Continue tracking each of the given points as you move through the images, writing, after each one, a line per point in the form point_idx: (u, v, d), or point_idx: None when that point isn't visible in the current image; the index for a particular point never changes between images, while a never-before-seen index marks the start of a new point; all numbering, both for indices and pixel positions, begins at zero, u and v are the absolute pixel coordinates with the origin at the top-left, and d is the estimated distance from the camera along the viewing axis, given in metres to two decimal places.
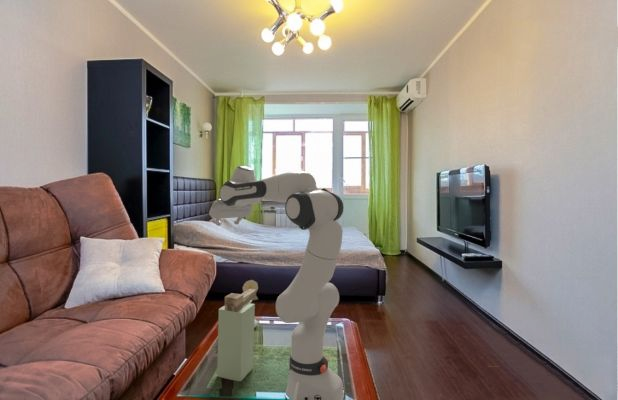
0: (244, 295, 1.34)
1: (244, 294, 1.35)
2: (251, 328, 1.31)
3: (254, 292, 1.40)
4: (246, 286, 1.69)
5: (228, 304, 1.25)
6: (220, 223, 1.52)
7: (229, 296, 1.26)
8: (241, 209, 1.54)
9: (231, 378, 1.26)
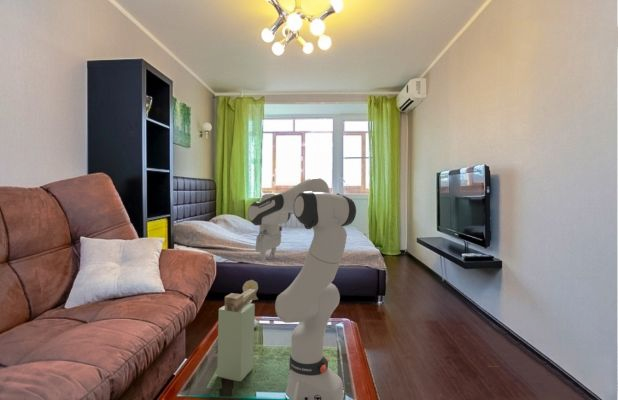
0: (244, 295, 1.34)
1: (244, 294, 1.35)
2: (251, 328, 1.31)
3: (254, 292, 1.40)
4: (246, 286, 1.69)
5: (228, 304, 1.25)
6: None
7: (229, 296, 1.26)
8: (275, 238, 1.59)
9: (231, 378, 1.26)
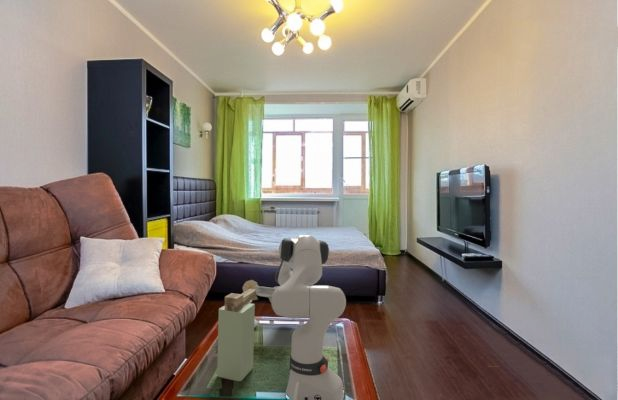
0: (244, 295, 1.34)
1: (244, 294, 1.35)
2: (251, 328, 1.31)
3: (254, 292, 1.40)
4: (246, 286, 1.69)
5: (228, 304, 1.25)
6: (261, 286, 1.60)
7: (229, 296, 1.26)
8: None
9: (231, 378, 1.26)
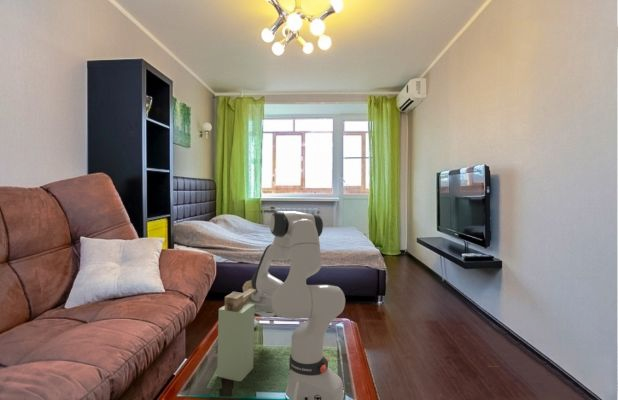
0: (244, 295, 1.34)
1: (244, 294, 1.35)
2: (251, 328, 1.31)
3: (254, 292, 1.40)
4: (246, 286, 1.69)
5: (228, 304, 1.25)
6: None
7: (229, 296, 1.26)
8: None
9: (231, 378, 1.26)
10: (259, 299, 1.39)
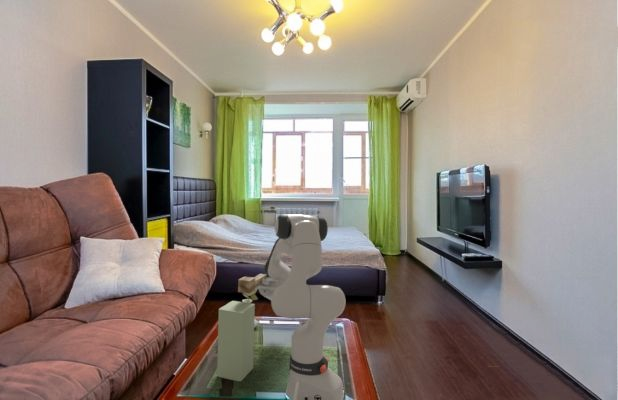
0: (256, 279, 1.43)
1: (255, 278, 1.44)
2: (251, 328, 1.31)
3: (264, 276, 1.50)
4: None
5: (241, 286, 1.35)
6: None
7: (242, 279, 1.36)
8: None
9: (231, 378, 1.26)
10: (269, 283, 1.49)
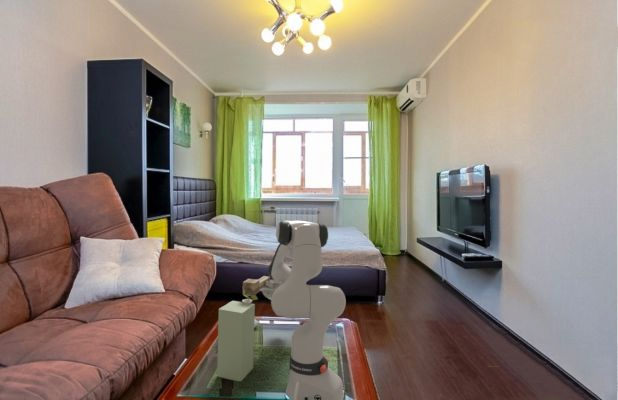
0: (260, 281, 1.47)
1: (259, 280, 1.48)
2: (251, 328, 1.31)
3: (268, 279, 1.54)
4: None
5: (246, 289, 1.39)
6: None
7: (247, 281, 1.40)
8: None
9: (231, 378, 1.26)
10: (273, 285, 1.53)
